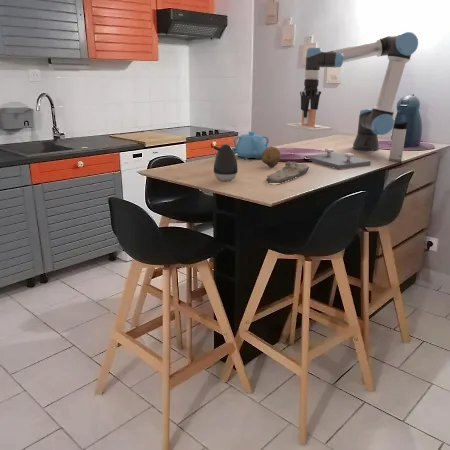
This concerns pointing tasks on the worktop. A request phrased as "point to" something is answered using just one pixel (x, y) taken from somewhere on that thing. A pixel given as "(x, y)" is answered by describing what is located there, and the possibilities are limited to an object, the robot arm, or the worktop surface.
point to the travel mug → (398, 141)
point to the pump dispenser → (225, 163)
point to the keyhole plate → (317, 127)
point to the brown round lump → (271, 156)
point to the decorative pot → (250, 145)
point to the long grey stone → (288, 172)
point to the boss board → (338, 160)
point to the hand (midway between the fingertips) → (308, 123)
